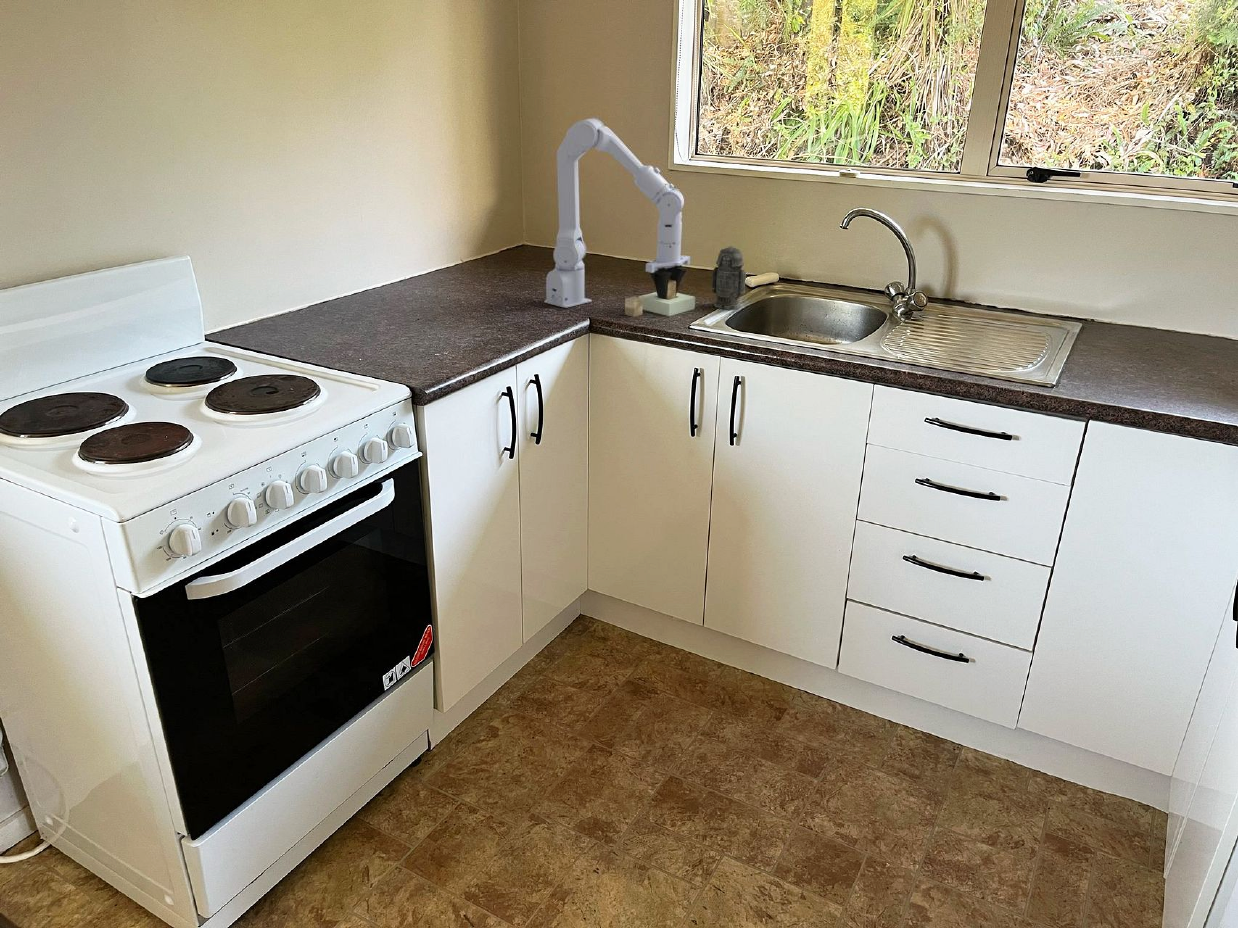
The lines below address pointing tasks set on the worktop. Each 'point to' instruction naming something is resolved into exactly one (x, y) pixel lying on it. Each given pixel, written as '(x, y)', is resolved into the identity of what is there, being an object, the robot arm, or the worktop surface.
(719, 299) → the toy
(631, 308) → the short pin
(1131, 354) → the worktop surface
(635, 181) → the robot arm
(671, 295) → the long pin
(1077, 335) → the worktop surface
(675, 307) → the socket
